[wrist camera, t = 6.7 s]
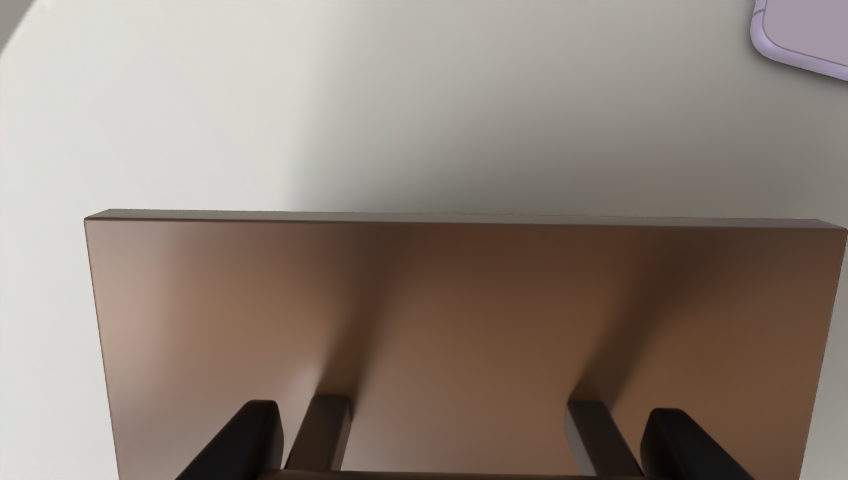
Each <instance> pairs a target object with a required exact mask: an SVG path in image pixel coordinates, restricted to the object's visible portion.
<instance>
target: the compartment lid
mask: <svg viewBox="0 0 848 480" xmlns="http://www.w3.org/2000/svg"><path fill="white" fill-rule="evenodd" d="M84 227H85V234H86V241H87V248H88V256H89V263H90V270H91V278H92V285H93V292H94V299H95V307H96V314H97V321H98V329H99V336H100V343H101V351H102V358H103V365H104V372H105V380H106V387H107V394H108V402H109V409H110V416H111V423H112V431H113V438H114V445H115V453H116V460H117V467H118V474H119V480H175V479H176V478H177V476H178V475H179V474H180V473H181V472H182V471H183V470H184V469H185V468H186V467H187V466H188V465H189V464H190V462H191V461H192V460H193V459H194V458H195V457H196V456H197V455H198V454H199V453H200V452H201V451H202V450H203V448H204V447H205V446H206V445H207V444H208V443H209V442H210V441H211V440H212V439H213V438H214V437H215V435H216V434H217V433H218V432H219V431H220V430H221V429H222V428H223V427H224V426H225V425H226V424H227V423H228V421H229V420H230V419H231V418H232V417H233V416H234V415H235V414H236V413H237V412H238V411H239V410H240V408H241V407H242V406H243V405H244V404H245V403H246V402H248V401H250V400H274V401H276V403H277V404H278V407H279V412H280V417H281V422H282V427H283V433H284V451H283V457H282V463H281V469H266V470H263V471H261V472H259V473H258V474H257V475H256V477H255V478H254V480H673V479H671V478H668V477H645V475H644V473H643V468H642V463H641V458H640V443H641V439H642V436H643V433H644V430H645V427H646V424H647V421H648V418H649V415H650V413H651V411H652V410H653V409H654V408H679V409H682V410H683V411H685V412H686V413H687V414H688V415H689V416H690V417H691V418H692V419H693V420H695V421H696V422H697V423H698V424H699V425H700V426H701V427H702V428H703V429H704V430H705V431H706V432H707V433H708V434H709V435H710V436H711V437H712V438H713V439H714V440H715V441H716V442H717V443H718V444H719V445H720V446H722V447H723V448H724V449H725V450H726V451H727V452H728V453H729V454H730V455H731V456H732V457H733V458H734V459H735V460H736V461H737V462H738V463H739V464H740V465H741V466H742V467H743V468H744V469H745V470H746V471H747V472H748V473H750V474H751V475H752V476H753V477H754V478H755V479H756V480H799V478H800V473H801V468H802V463H803V458H804V453H805V448H806V442H807V437H808V432H809V427H810V422H811V417H812V412H813V407H814V402H815V397H816V392H817V387H818V382H819V377H820V372H821V367H822V362H823V357H824V352H825V347H826V342H827V337H828V332H829V326H830V321H831V316H832V311H833V306H834V301H835V296H836V291H837V286H838V281H839V276H840V271H841V266H842V261H843V256H844V251H845V246H846V241H847V236H848V230H847V229H846V228H843V227H840V226H837V225H834V224H831V223H827V222H824V221H821V220H818V219H765V218H697V217H628V216H560V215H491V214H422V213H354V212H285V211H217V210H148V209H108V210H105V211H102V212H100V213H97V214H94V215H91V216H88V217H86V218H84Z"/></svg>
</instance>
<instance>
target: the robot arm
mask: <svg viewBox="0 0 848 480" xmlns="http://www.w3.org/2000/svg"><path fill="white" fill-rule="evenodd" d="M283 451H284V433H283V427H282V422H281V417H280V412H279V407H278V404H277V403H276V401H274V400H250V401H248V402H246V403H245V404H244V405H243V406H242V407H241V408H240V410H239V411H238V412H237V413H236V414H235V415H234V416H233V417H232V418H231V419H230V420H229V421H228V423H227V424H226V425H225V426H224V427H223V428H222V429H221V430H220V431H219V432H218V433H217V434H216V435H215V437H214V438H213V439H212V440H211V441H210V442H209V443H208V444H207V445H206V446H205V447H204V448H203V450H202V451H201V452H200V453H199V454H198V455H197V456H196V457H195V458H194V459H193V460H192V461H191V462H190V464H189V465H188V466H187V467H186V468H185V469H184V470H183V471H182V472H181V473H180V474H179V475H178V476H177V478H176V479H175V480H254V478H255V477H256V475H257V474H258V473H259V472H261V471H263V470H266V469H281V463H282V457H283ZM640 458H641V463H642V468H643V473H644V475H645V477H668V478H671V479H673V480H756V479H755V478H754V477H753V476H752V475H751V474H750V473H748V472H747V471H746V470H745V469H744V468H743V467H742V466H741V465H740V464H739V463H738V462H737V461H736V460H735V459H734V458H733V457H732V456H731V455H730V454H729V453H728V452H727V451H726V450H725V449H724V448H723V447H722V446H720V445H719V444H718V443H717V442H716V441H715V440H714V439H713V438H712V437H711V436H710V435H709V434H708V433H707V432H706V431H705V430H704V429H703V428H702V427H701V426H700V425H699V424H698V423H697V422H696V421H695V420H693V419H692V418H691V417H690V416H689V415H688V414H687V413H686V412H685V411H683V410H682V409H679V408H654V409H653V410H652V411H651V413H650V415H649V418H648V421H647V424H646V427H645V430H644V433H643V436H642V439H641V443H640Z"/></svg>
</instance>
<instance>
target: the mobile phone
mask: <svg viewBox="0 0 848 480" xmlns="http://www.w3.org/2000/svg"><path fill="white" fill-rule="evenodd" d="M755 4H756V5H755V9H754V13H753V18H752V22H751V29H750V34H751V39H752V42H753V44H754V46H755V48H756V49H757V50H758V51H759V52H760V53H761V54H762V55H764V56H765V57H767V58H769V59H772V60H774V61H777V62H781V63H784V64H788V65H792V66H795V67H799V68H802V69H806V70H810V71H813V72H817V73H821V74H824V75H828V76H831V77H835V78H839V79H842V80H846V81H848V0H756V1H755Z"/></svg>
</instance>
